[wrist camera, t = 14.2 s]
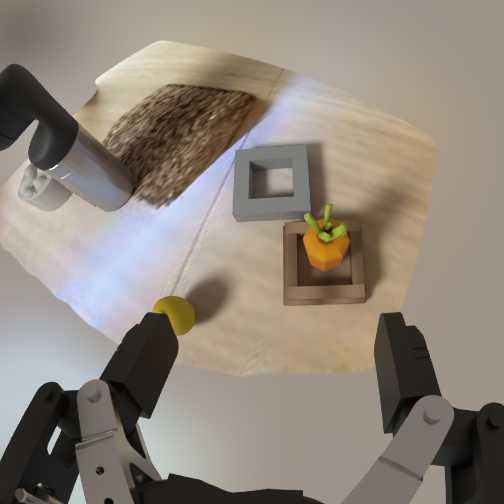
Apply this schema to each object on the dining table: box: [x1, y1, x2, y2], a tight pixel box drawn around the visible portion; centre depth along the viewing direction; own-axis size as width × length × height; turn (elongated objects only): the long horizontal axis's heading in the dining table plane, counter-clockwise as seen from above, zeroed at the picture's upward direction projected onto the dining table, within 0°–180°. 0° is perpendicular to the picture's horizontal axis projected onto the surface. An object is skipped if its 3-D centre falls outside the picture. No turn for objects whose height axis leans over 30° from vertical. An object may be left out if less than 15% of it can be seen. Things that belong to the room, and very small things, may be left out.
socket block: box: [232, 145, 311, 222], centre depth 45 cm, size 11×11×3 cm
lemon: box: [152, 296, 195, 336], centre depth 40 cm, size 6×6×8 cm
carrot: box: [303, 204, 350, 272], centre depth 33 cm, size 5×5×15 cm
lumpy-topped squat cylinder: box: [18, 163, 73, 211], centre depth 54 cm, size 10×13×9 cm
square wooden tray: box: [283, 220, 366, 306], centre depth 40 cm, size 11×11×4 cm
